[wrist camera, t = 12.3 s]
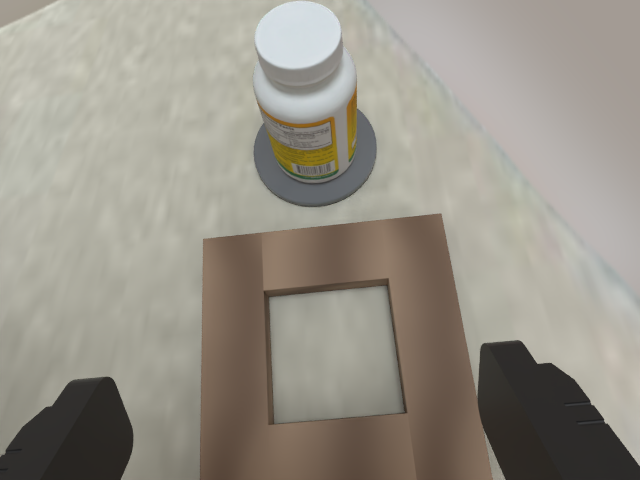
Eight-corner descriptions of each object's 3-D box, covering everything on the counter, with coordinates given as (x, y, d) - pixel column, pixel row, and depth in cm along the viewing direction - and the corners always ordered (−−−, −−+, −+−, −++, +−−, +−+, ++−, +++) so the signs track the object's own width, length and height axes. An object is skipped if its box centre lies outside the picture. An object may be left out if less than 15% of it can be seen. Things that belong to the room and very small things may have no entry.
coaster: (257, 213, 29) (255, 209, 28) (254, 108, 31) (252, 103, 31) (383, 199, 28) (383, 195, 28) (368, 95, 31) (368, 89, 30)
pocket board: (209, 503, 23) (199, 509, 22) (211, 247, 28) (203, 238, 27) (485, 482, 22) (494, 487, 21) (437, 223, 27) (441, 213, 26)
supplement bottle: (312, 202, 28) (290, 103, 19) (258, 149, 30) (214, 36, 21) (375, 148, 29) (381, 30, 20) (319, 100, 30) (302, -29, 22)
